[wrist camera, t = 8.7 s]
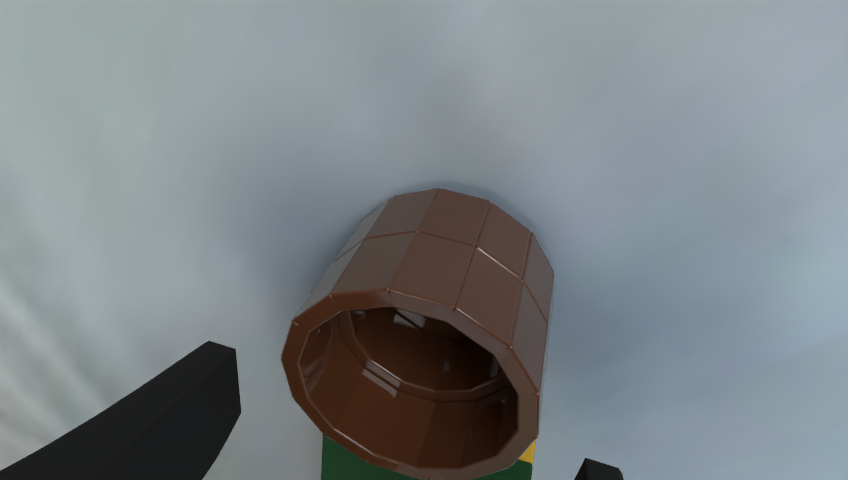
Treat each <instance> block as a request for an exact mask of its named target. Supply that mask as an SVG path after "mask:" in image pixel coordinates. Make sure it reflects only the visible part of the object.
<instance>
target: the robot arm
mask: <svg viewBox="0 0 848 480" xmlns="http://www.w3.org/2000/svg"><path fill="white" fill-rule="evenodd" d="M240 414H241V405H240V394H239V383H238V371H237V360H236V349H233V348H230V347H227V346H224V345H221V344H217V343H214V342H211V341H208V342H206V343H204V344H203V345H201V346H200V347H198V348H197V349H195V350H194V351H192V352H191V353H189V354H188V355H186V356H185V357H184V358H182V359H181V360H179V361H178V362H176V363H175V364H173V365H172V366H170V367H169V368H168V369H166V370H165V371H163V372H162V373H160V374H159V375H157V376H156V377H154V378H153V379H151V380H150V381H148V382H147V383H145V384H144V385H143V386H141V387H140V388H138V389H136V390H135V391H133V392H132V393H130V394H129V395H127V396H126V397H124V398H123V399H121V400H120V401H118V402H116V403H115V404H113V405H112V406H110V407H109V408H107V409H106V410H104V411H103V412H101V413H99V414H98V415H96V416H95V417H93V418H91V419H90V420H88V421H87V422H85V423H83V424H81V425H80V426H78V427H76V428H75V429H73V430H71V431H70V432H68V433H66V434H65V435H63V436H61V437H60V438H58V439H56V440H55V441H53V442H51V443H50V444H48V445H46V446H45V447H43V448H41V449H39V450H38V451H36V452H34V453H32V454H30V455H29V456H27V457H25V458H23V459H21V460H20V461H18V462H16V463H14V464H12V465H10V466H8V467H7V468H5V469H3V470H1V471H0V480H202V479H203V477H204V476H205V475H206V473H207V472H208V470H209V469H210V467H211V466H212V464H213V463H214V461H215V460H216V458H217V457H218V455H219V453H220V451H221V449H222V448H223V446H224V444H225V442H226V440H227V439H228V437H229V435H230V433H231V431H232V429H233V427H234V425H235V423H236V421H237V420H238V418H239V416H240ZM574 480H623V476H622V473H621V471H620V470H619V468H616V467H613V466H610V465H606V464H603V463H600V462H597V461H594V460H590V459H587V458H585V460H584V462H583V464H582V466H581V468H580V470H579V472H578V474H577V476H576V477H575V479H574Z"/></svg>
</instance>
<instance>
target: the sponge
mask: <svg viewBox="0 0 848 480" xmlns="http://www.w3.org/2000/svg"><path fill="white" fill-rule="evenodd" d="M535 441H536V440H535ZM535 441H534V442H533V443H532V444H531V445H530V446H529V448H528V449H527V450H526V451H525V452H524V453H523V454H522V455H521V457H520V458H519V459H518V460H517V461H516V462H515V463H514V464H513V466H510V468H507V469H504V470H501V471H498V472H495V473H492V474H489V475H486V476H483V477H479V478H476V479H473V480H531V476H532V463H533V459H534V450H535ZM321 480H425V479H418V478H412V477H409V476H406V475H403V474H400V473H397V472H394V471H391V470H388V469H385V468H382V467H379V466H376V465H373V464H369V463H368V462H365V461H364V460H362V459H361V458H359V457H357V456H356V455H354V454H353V453H351V452H350V451H348V450H347V449H345V448H344V447H342V446H340V445H339V444H337V443H336V442H334V441H333V440H331V439H330V438H328V437H326V436H325V434H323V450H322V473H321Z"/></svg>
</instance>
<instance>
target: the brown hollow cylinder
mask: <svg viewBox="0 0 848 480" xmlns="http://www.w3.org/2000/svg"><path fill="white" fill-rule="evenodd" d="M553 286H554V273H553V269H552V267H551V265H550V264H549V262H548V260H547V258H546V256H545V254H544V252H543V250H542V249H541V247H540V245H539V243H538V241H537V239H536V237H535V235H534V234H533V233H532V232H530V230H529V229H527V228H526V227H525V226H523V225H522V224H521V223H519V222H518V221H516V220H515V219H514V218H512V217H511V216H510V215H508V214H507V213H506V212H504V211H503V210H502V209H500V208H499V207H498V206H496V205H495V204H494V203H490V201H489V200H485V199H481V198H477V197H473V196H469V195H465V194H461V193H457V192H453V191H449V190H445V189H439V188H438V189H432V190H426V191H420V192H414V193H408V194H402V195H396V196H394V197H393V198H391V199H389V200H387V201H386V202H385V203H384V204H382V205H381V206H380V207H378V208H377V209H376V210H374V211H373V212H372V213H371V214H369V215H368V216H367V217H365V218H364V219H363V220H362V221H361V222H360V224H359V225H358V226H357V228H356V229H355V231H354V232H353V233H352V235H351V236H350V238H349V239H348V241H347V242H346V244H345V245H344V246H343V248H342V249H341V251H340V252H339V254H338V255H337V257H336V258H335V259H334V261H333V262H332V264H331V265H330V266H329V268H328V269H327V271H326V272H325V274H324V275H323V276H322V278H321V279H320V281H319V282H318V284H317V285H316V287H315V288H314V289H313V291H312V292H311V294H310V295H309V297H308V298H307V299H306V301H305V302H304V304H303V305H302V307H301V308H300V310H299V311H298V312H297V314H296V315H295V317H294V318H293V320H292V322H291V325H290V328H289V331H288V335H287V338H286V341H285V344H284V348H283V351H282V354H281V361H282V365H283V368H284V371H285V374H286V378H287V381H288V384H289V387H290V391H291V394H292V397H293V398H294V400H295V401H296V403H297V404H298V405H299V406H300V407H301V409H302V410H303V411H304V412H305V413H306V414H307V416H308V417H309V418H310V419H311V420H312V421H313V423H314V424H315V425H316V426H317V427H318V429H319V430H320V431H321V432H322V433H323V434H325V436H326V437H328V438H330V439H331V440H333V441H334V442H336V443H337V444H339V445H340V446H342V447H344V448H345V449H347V450H348V451H350V452H351V453H353V454H354V455H356V456H357V457H359V458H361V459H362V460H364V461H365V462H368V463H369V464H373V465H376V466H379V467H382V468H385V469H388V470H391V471H394V472H397V473H400V474H403V475H406V476H409V477H412V478H418V479H425V480H473V479H476V478H479V477H483V476H486V475H489V474H492V473H495V472H498V471H501V470H504V469H507V468H510V466H513V464H514V463H515V462H516V461H517V460H518V459H519V458H520V457H521V455H522V454H523V453H524V452H525V451H526V450H527V449H528V448H529V446H530V445H531V444H532V443H533V442H534V441H535V440H536V439H537V437H538V435H539V428H540V419H541V410H542V401H543V392H544V382H545V373H546V363H547V355H548V346H549V336H550V327H551V318H552V307H553Z"/></svg>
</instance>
